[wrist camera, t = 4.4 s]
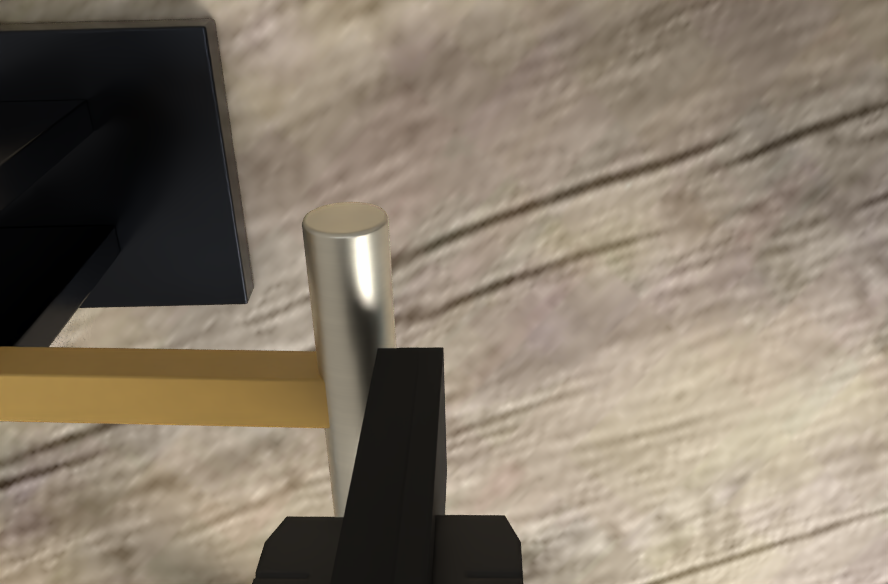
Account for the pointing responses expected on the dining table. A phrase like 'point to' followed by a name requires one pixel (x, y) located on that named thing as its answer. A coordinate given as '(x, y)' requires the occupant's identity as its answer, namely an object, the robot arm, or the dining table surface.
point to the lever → (240, 359)
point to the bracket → (115, 173)
